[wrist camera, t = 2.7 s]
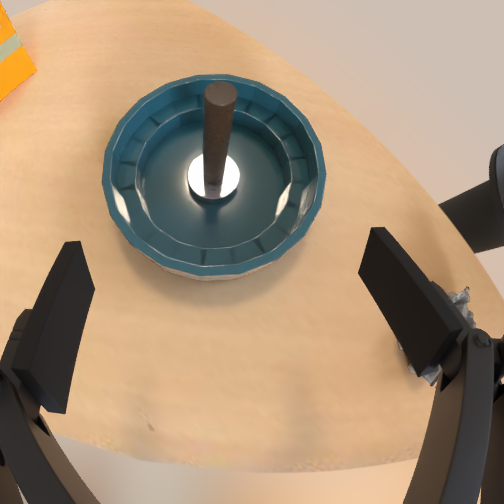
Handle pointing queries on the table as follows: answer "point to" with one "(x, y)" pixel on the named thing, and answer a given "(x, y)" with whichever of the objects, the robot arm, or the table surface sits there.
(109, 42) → the table surface
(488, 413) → the robot arm
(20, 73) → the orange juice
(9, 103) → the table surface
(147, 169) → the bowl
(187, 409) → the table surface
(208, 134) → the brown rod
